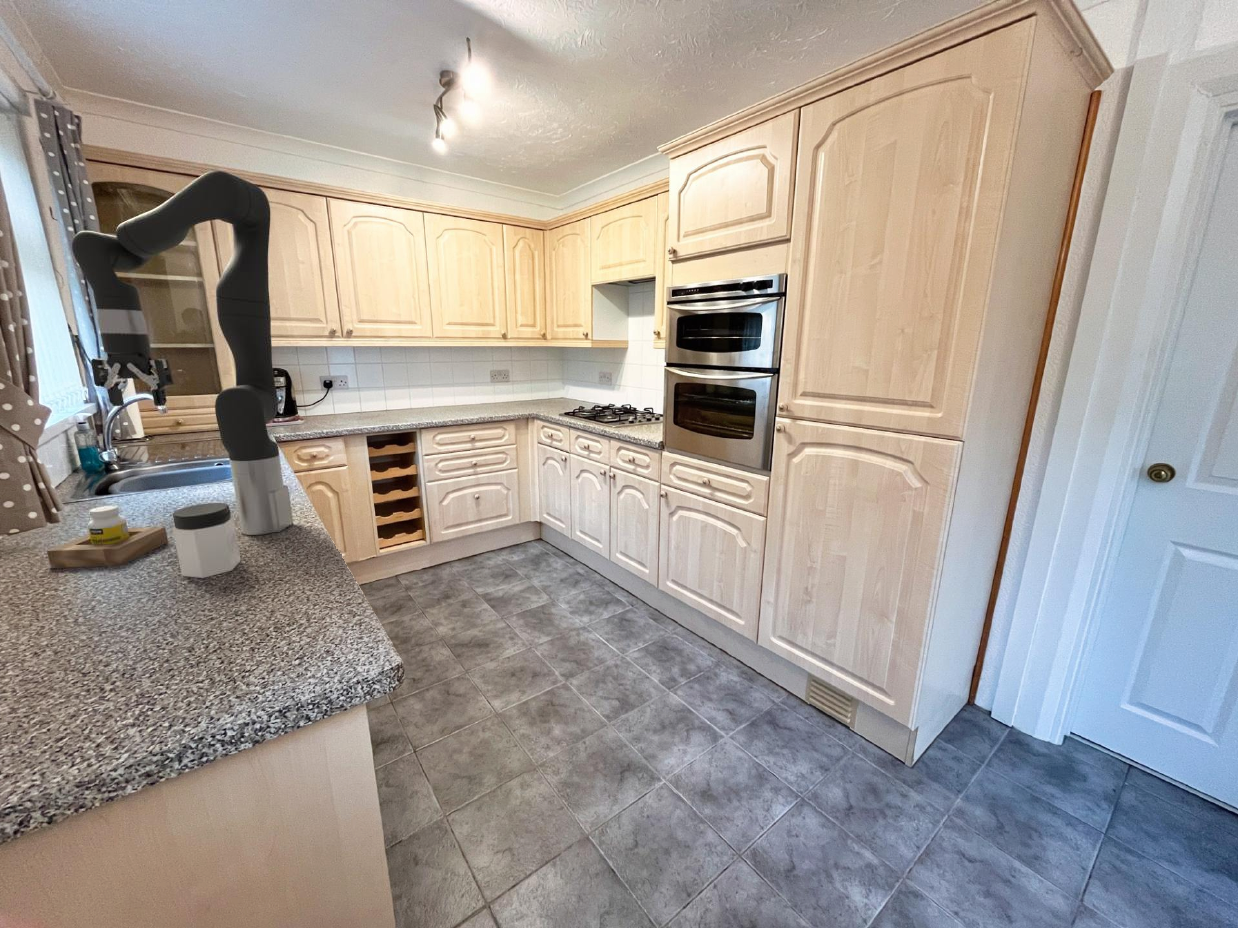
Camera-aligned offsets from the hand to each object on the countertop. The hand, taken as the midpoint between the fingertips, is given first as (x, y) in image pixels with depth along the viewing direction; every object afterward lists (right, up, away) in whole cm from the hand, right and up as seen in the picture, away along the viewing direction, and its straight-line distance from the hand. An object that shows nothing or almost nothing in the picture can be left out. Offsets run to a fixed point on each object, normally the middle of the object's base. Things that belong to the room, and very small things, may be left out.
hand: (139, 405), depth 112 cm
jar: (+31, -34, -17) cm, 49 cm away
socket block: (+6, -32, -12) cm, 34 cm away
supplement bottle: (+6, -32, -11) cm, 34 cm away
